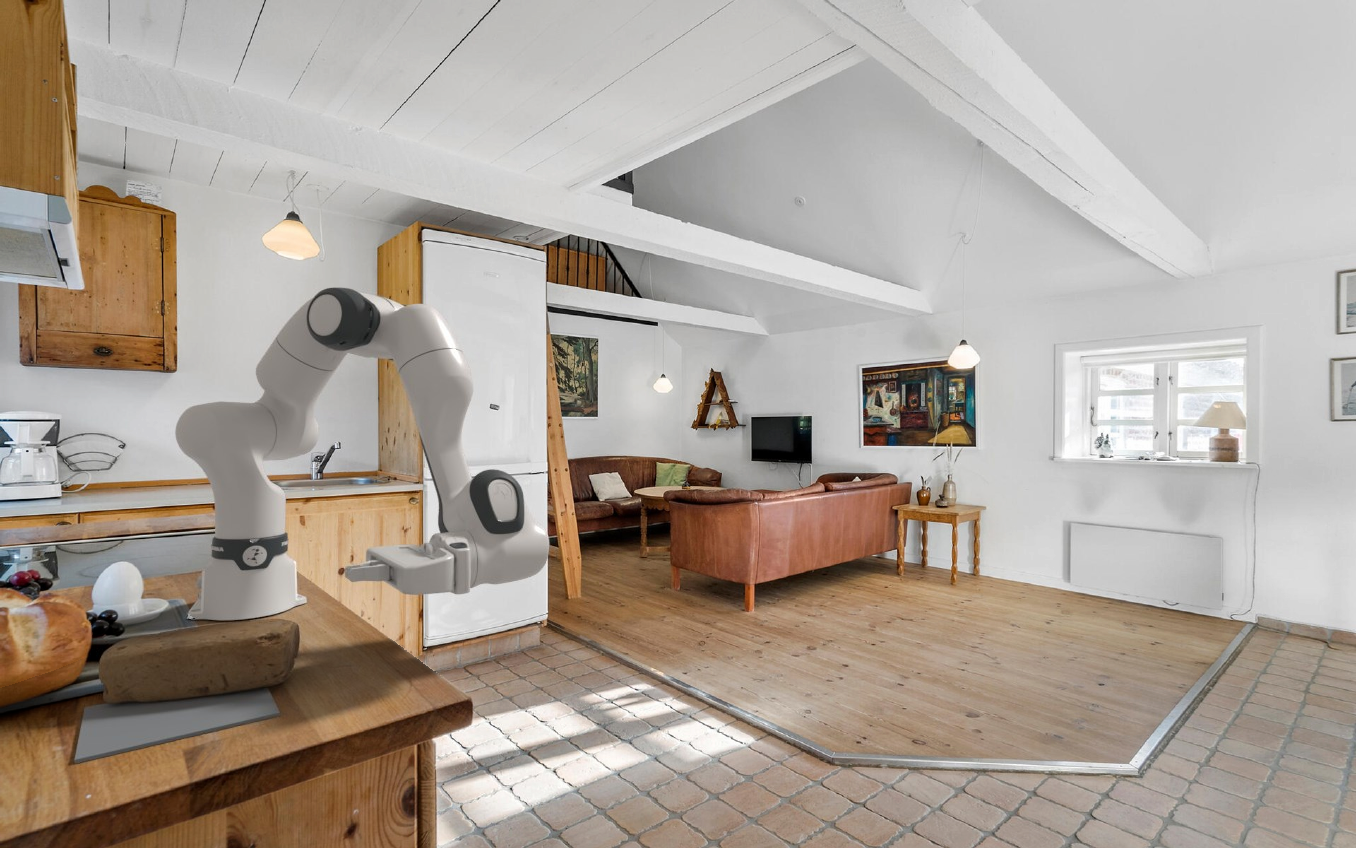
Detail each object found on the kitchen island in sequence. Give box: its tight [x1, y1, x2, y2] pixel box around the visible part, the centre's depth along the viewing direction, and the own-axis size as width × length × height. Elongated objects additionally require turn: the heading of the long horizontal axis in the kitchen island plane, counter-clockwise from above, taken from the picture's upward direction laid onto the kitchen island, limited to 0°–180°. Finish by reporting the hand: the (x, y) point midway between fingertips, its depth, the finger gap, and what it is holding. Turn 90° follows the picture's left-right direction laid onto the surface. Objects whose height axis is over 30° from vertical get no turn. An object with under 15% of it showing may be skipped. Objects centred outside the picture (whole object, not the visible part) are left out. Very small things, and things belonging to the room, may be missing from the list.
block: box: [98, 618, 301, 704], centre depth 85 cm, size 11×8×20 cm
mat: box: [73, 686, 281, 765], centre depth 78 cm, size 16×18×1 cm
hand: (347, 574), depth 89 cm, fingers closed
